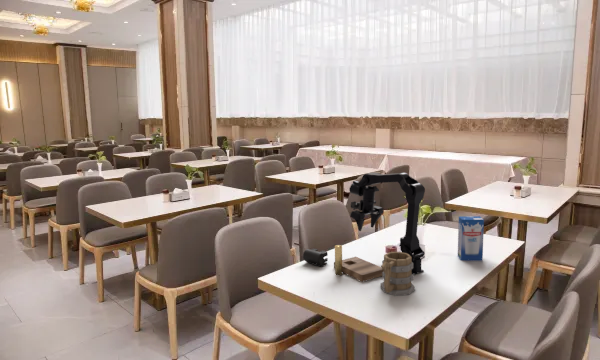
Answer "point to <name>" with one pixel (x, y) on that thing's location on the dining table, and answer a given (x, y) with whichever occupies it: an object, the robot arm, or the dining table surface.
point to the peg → (338, 259)
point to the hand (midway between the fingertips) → (365, 229)
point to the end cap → (315, 257)
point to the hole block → (360, 269)
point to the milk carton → (470, 238)
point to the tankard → (397, 273)
